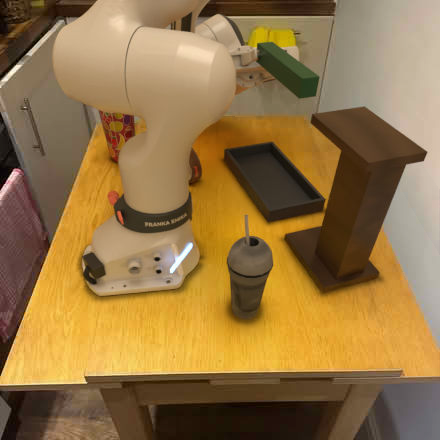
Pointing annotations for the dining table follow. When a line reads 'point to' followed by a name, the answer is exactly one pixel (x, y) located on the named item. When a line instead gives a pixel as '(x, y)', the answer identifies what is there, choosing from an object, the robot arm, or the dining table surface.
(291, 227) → the dining table surface
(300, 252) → the stand
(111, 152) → the smoothie
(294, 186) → the tray
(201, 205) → the dining table surface
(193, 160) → the tin
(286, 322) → the dining table surface
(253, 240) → the beverage cup
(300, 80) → the long green square beam
